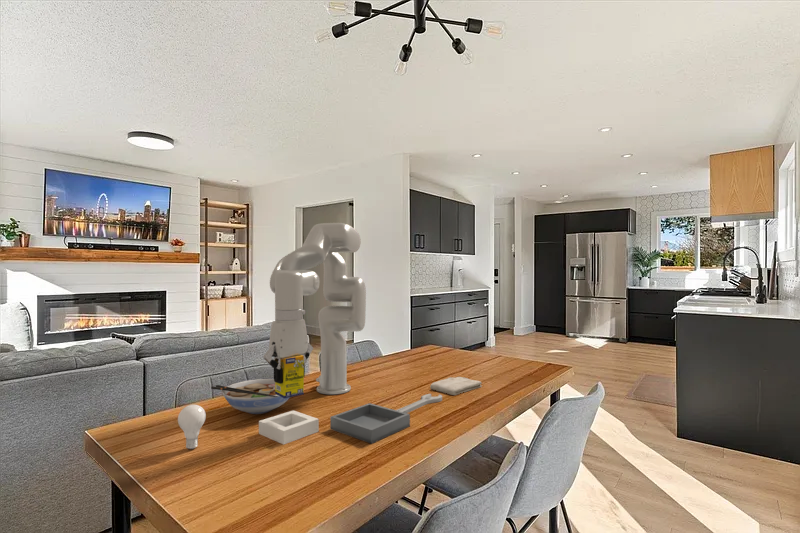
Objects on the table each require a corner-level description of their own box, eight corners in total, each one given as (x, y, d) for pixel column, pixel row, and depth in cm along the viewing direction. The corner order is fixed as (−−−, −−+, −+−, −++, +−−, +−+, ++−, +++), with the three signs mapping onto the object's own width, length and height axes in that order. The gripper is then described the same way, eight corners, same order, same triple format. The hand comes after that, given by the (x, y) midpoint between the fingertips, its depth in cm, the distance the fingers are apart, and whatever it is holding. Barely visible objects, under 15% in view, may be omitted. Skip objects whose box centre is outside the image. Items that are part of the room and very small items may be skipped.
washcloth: (483, 387, 164) (483, 379, 164) (454, 397, 152) (454, 388, 152) (458, 382, 173) (458, 374, 173) (429, 390, 160) (429, 382, 160)
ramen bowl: (313, 405, 142) (313, 380, 142) (264, 428, 121) (264, 399, 121) (255, 396, 152) (256, 373, 152) (202, 416, 132) (202, 389, 132)
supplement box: (284, 399, 114) (284, 358, 114) (274, 394, 119) (274, 355, 119) (304, 394, 118) (304, 355, 118) (294, 389, 123) (294, 352, 123)
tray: (330, 429, 120) (330, 416, 120) (369, 414, 133) (369, 403, 133) (371, 443, 110) (371, 430, 110) (409, 426, 123) (409, 414, 123)
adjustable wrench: (396, 420, 129) (396, 414, 129) (381, 415, 134) (381, 409, 134) (445, 400, 148) (445, 395, 148) (430, 397, 152) (430, 392, 152)
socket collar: (258, 433, 117) (258, 420, 117) (293, 422, 126) (293, 410, 126) (283, 444, 110) (283, 430, 110) (318, 431, 119) (318, 418, 119)
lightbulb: (184, 444, 110) (184, 401, 110) (209, 443, 111) (209, 400, 111) (173, 454, 104) (173, 409, 104) (200, 453, 104) (200, 408, 105)
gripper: (305, 311, 127) (306, 371, 128) (253, 317, 114) (254, 384, 114) (322, 313, 123) (322, 375, 123) (269, 320, 109) (270, 389, 109)
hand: (289, 379), depth 119 cm, fingers closed on supplement box, 6 cm apart
